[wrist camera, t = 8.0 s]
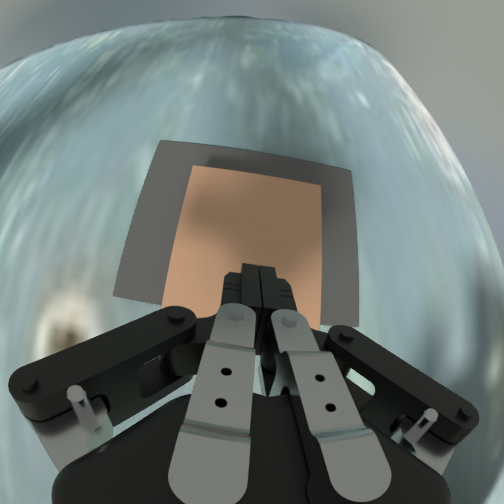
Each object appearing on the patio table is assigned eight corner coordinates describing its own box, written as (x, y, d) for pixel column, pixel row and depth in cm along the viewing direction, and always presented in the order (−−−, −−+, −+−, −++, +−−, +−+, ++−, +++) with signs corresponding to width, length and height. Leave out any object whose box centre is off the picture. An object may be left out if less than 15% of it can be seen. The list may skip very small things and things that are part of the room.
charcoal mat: (113, 296, 21) (112, 295, 21) (160, 142, 27) (160, 140, 27) (357, 327, 22) (358, 326, 22) (349, 172, 29) (351, 170, 28)
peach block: (158, 325, 16) (193, 165, 21) (168, 332, 20) (195, 194, 25) (318, 344, 17) (320, 185, 22) (300, 348, 21) (306, 210, 26)
